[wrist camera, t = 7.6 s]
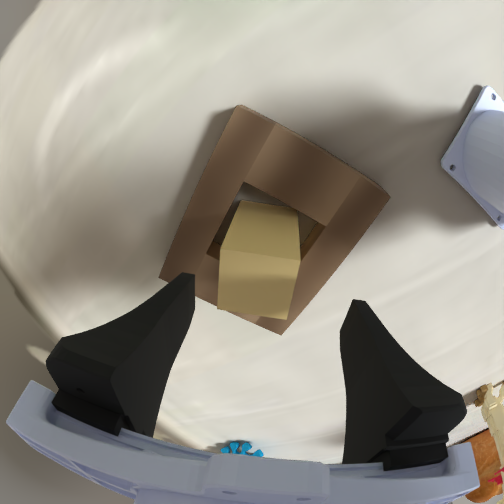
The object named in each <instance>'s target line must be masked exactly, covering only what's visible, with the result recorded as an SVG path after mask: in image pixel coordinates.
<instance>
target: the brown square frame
mask: <svg viewBox="0 0 504 504" xmlns="http://www.w3.org/2000/svg"><path fill="white" fill-rule="evenodd" d="M243 182H246V183H248V184H250V185H252V186H254V187H256V188H257V189H259V190H261V191H263V192H265V193H267V194H269V195H271V196H272V197H274V198H276V199H278V200H280V201H282V202H283V203H285V204H287V205H289V206H291V207H293V208H294V209H296V210H298V211H300V212H302V213H303V214H305V215H307V216H309V217H310V218H312V219H314V220H316V221H317V222H318V223H317V224H316V226H315V227H314V228H313V230H312V231H311V233H310V234H309V236H308V237H307V239H306V240H305V241H304V243H303V244H302V246H301V247H300V259H301V261H300V265H299V270H298V274H297V279H296V283H295V287H294V291H293V295H292V300H291V304H290V308H289V312H288V316H287V320H285V319H278V318H271V317H264V316H257V315H251V314H244V313H238V312H232V311H228V312H230V313H232V314H234V315H236V316H239V317H241V318H243V319H245V320H247V321H250V322H252V323H254V324H256V325H258V326H261V327H263V328H265V329H268V330H270V331H272V332H274V333H277V334H279V335H282V334H283V333H284V332H285V330H286V329H287V328H288V327H289V326H290V325H291V324H292V322H293V321H294V320H295V319H296V318H297V317H298V315H299V314H300V313H301V312H302V311H303V310H304V308H305V307H306V306H307V305H308V304H309V302H310V301H311V300H312V299H313V298H314V296H315V295H316V294H317V293H318V292H319V290H320V289H321V288H322V287H323V286H324V284H325V283H326V282H327V281H328V279H329V278H330V277H331V276H332V274H333V273H334V272H335V271H336V269H337V268H338V267H339V266H340V264H341V263H342V262H343V261H344V259H345V258H346V257H347V255H348V254H349V253H350V251H351V250H352V249H353V248H354V246H355V245H356V244H357V242H358V241H359V240H360V238H361V237H362V236H363V234H364V233H365V232H366V230H367V229H368V228H369V226H370V225H371V224H372V222H373V221H374V219H375V218H376V217H377V215H378V214H379V213H380V211H381V210H382V208H383V207H384V206H385V204H386V203H387V201H388V200H389V199H390V196H389V195H388V194H387V192H386V191H385V190H384V189H383V188H382V187H381V186H379V185H378V184H376V183H375V182H373V181H372V180H371V179H369V178H368V177H366V176H365V175H363V174H362V173H360V172H359V171H357V170H356V169H354V168H353V167H351V166H350V165H348V164H346V163H345V162H343V161H342V160H340V159H339V158H337V157H335V156H334V155H332V154H331V153H329V152H327V151H326V150H324V149H322V148H321V147H319V146H317V145H316V144H314V143H312V142H311V141H309V140H307V139H305V138H304V137H302V136H300V135H298V134H297V133H295V132H293V131H291V130H289V129H288V128H286V127H284V126H282V125H280V124H278V123H277V122H275V121H273V120H271V119H269V118H267V117H265V116H263V115H261V114H259V113H257V112H255V111H253V110H251V109H249V108H247V107H245V106H243V105H238V106H236V108H235V110H234V112H233V114H232V116H231V117H230V119H229V121H228V123H227V125H226V127H225V129H224V131H223V133H222V135H221V137H220V139H219V141H218V143H217V145H216V147H215V149H214V151H213V153H212V155H211V157H210V159H209V162H208V164H207V166H206V168H205V170H204V172H203V174H202V176H201V178H200V181H199V183H198V185H197V187H196V189H195V192H194V194H193V196H192V198H191V200H190V203H189V205H188V207H187V210H186V212H185V214H184V216H183V219H182V221H181V223H180V226H179V228H178V231H177V233H176V235H175V238H174V240H173V243H172V245H171V247H170V250H169V252H168V255H167V257H166V260H165V262H164V265H163V267H162V270H161V273H160V275H159V278H160V279H162V280H164V281H166V282H168V283H170V282H171V281H172V280H173V279H174V278H175V277H177V276H178V275H179V274H180V273H182V272H184V273H190V274H195V296H196V297H198V298H200V299H202V300H205V301H207V302H209V303H211V304H213V305H215V306H217V302H218V282H219V265H220V249H221V245H220V244H218V243H216V242H214V241H213V239H214V237H215V235H216V233H217V231H218V229H219V227H220V225H221V223H222V221H223V219H224V217H225V216H226V214H227V212H228V210H229V208H230V206H231V204H232V202H233V200H234V198H235V197H236V195H237V193H238V191H239V189H240V187H241V185H242V184H243Z"/></svg>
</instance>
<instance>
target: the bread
mask: <svg viewBox="0 0 504 504" xmlns="http://www.w3.org/2000/svg"><path fill="white" fill-rule="evenodd" d="M466 442H471V446H472V450H473V454H474V458H475V463H476V467H477V472H478V477H479V482H480V486H479V488H477V489H475V490H473V491H471V492H470V493H468V494H466V495H465V496H466V498H467V499H469V500H470V501H472V502H475V503H481V502H485V501H487V500H489V499H490V498H491V497H493V496H495V495H499V494H502V493H503V490H502V484H503V483H501V484H499V485H497V482H495V480H494V482H492V481H491V482H488V480H491V479H492V478H495V477H497V476H499V475H501V472H499V473H497V474H496V475H494V473H496V472H497V471H499V470H500V467H501V462H500V458H499V454H498V451H497V447H496V443H495V440H494V437H493V436H491V433H490V430H489V429H488V430H486V431H484V432H482V433H480V434H478V435H476V436H474V437H472V438H470V439H468V440H466V441H465V442H463V443H466ZM461 444H462V443H461Z"/></svg>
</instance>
